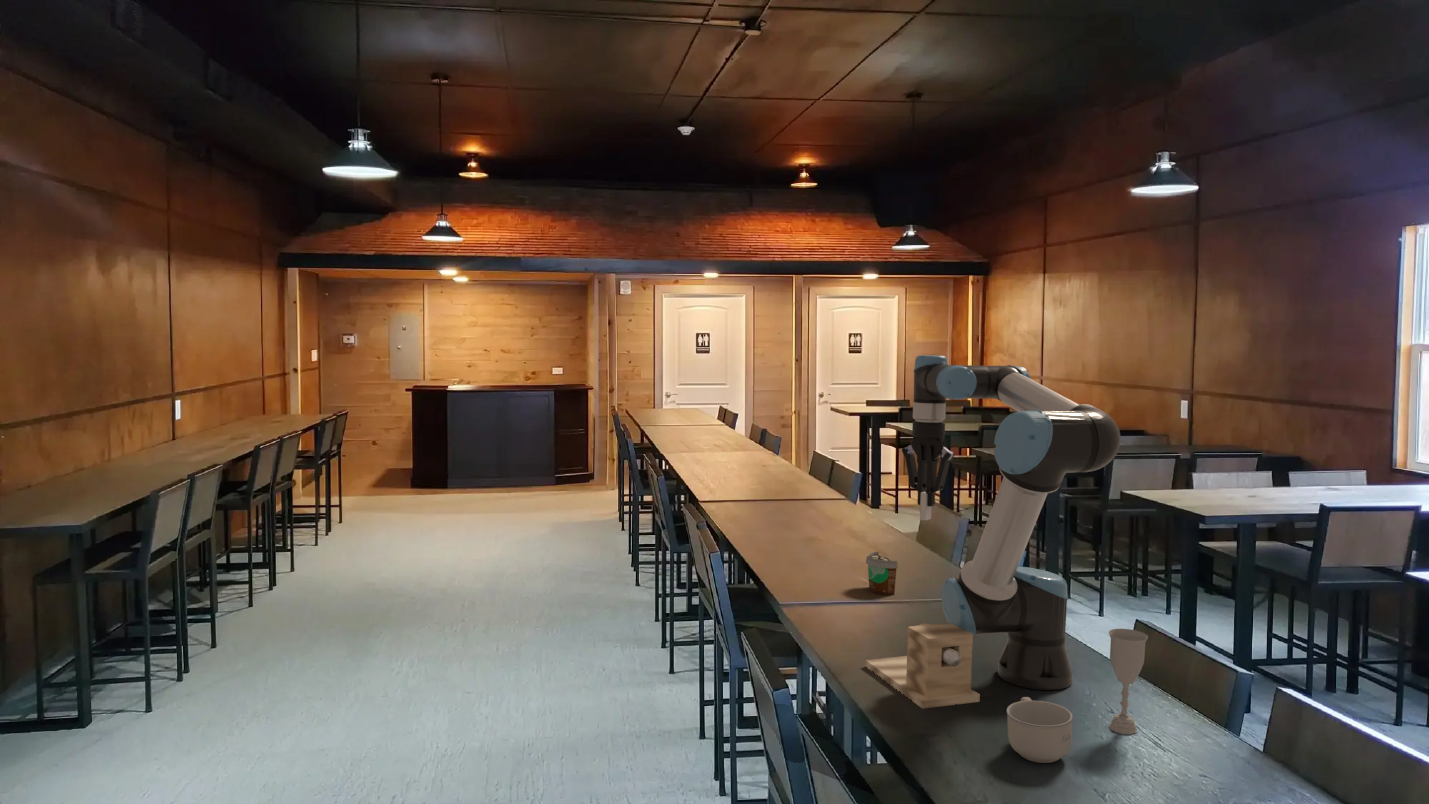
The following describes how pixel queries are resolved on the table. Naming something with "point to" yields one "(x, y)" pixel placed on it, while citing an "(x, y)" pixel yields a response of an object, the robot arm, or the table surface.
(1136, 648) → the chalice
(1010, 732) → the teacup
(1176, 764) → the table surface
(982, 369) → the robot arm
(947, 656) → the shaft
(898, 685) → the bearing stand
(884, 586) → the food container
